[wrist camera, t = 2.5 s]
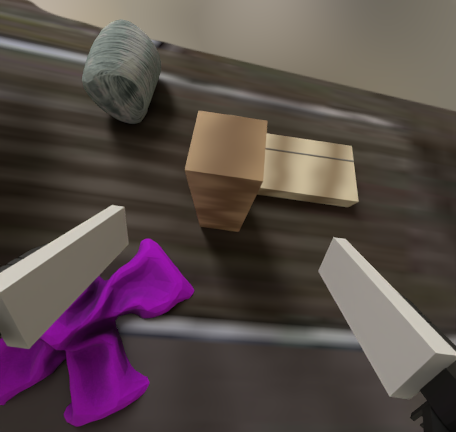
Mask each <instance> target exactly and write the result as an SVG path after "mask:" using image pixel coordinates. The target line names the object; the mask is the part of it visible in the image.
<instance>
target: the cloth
mask: <svg viewBox="0 0 456 432" xmlns="http://www.w3.org/2000/svg"><path fill="white" fill-rule="evenodd" d="M193 292H194V289H193V287H192V286H191V284H190V283H189V282H188V281H187V280H186V279H185V278H184V276H183V275H182V274H181V273H180V271H179V270H178V268H177V267H176V266H175V265H174V264H173V262H172V261H171V260H170V259H169V257H168V256H167V255H166V253H165V252H164V251H163V249H162V248H161V247H160V246H159V245H158V244H157V243H156V242H154V241H153V240H151V239H144V240H143V241H141V244H140V247H139V251H138V253H137V254H136V255H135V257H134V258H133V259H132V260H131V261H130V262H128V263H127V264H125V265H124V266H122V267H121V268H119V269H118V270H117V271H116V272H115V273H114V274H113V275H112V276H111V278H110V279H109V280H106V281H104V280H103V279H102V278H101V277H100V276H98V277H97V278H96V279H95V280H94V281H93V282H92V283H91V284H90V285H89V286H88V287H87V289H86V290H85V291H84V292H83V293H82V294H81V295H80V296H79V297H78V298H77V299H76V300H75V301H74V302H73V303H72V304H71V305H70V306H69V307H68V309H67V310H66V311H65V312H64V313H63V314H62V315H61V316H60V317H59V318H58V319H57V320H56V321H55V322H54V323H53V324H52V325H51V326H50V327H49V329H48V330H47V331H46V332H45V333H44V334H43V335H42V336H41V337H40V338H39V339H38V340H37V341H36V342H35V343H34V344H33V345H32V346H31V347H30V349H26V348H18V347H10V346H7V345H6V343H5V342H4V340H3V338H1V339H0V405H4V404H5V403H6V402H7V401H8V400H9V399H11V398H12V397H14V396H15V395H16V394H18V393H19V392H21V391H23V390H25V389H27V388H29V387H31V386H33V385H34V384H36V383H38V382H39V381H41V380H43V379H44V378H46V377H47V376H49V375H50V374H52V373H53V372H54V371H55V370H56V368H57V367H58V366H59V365H60V364H61V363H62V362H63V361H64V360H65V359H67V366H68V371H69V376H70V392H71V399H72V402H71V404H70V405H69V406H68V407H66V410H65V412H64V417H65V419H66V421H67V423H70V424H71V425H74V426H82V425H84V424H87V423H89V422H92V421H96V420H100V419H103V418H105V417H107V416H109V415H111V414H113V413H115V412H117V411H119V410H121V409H123V408H125V407H126V406H128V405H129V404H131V403H132V402H134V401H135V400H137V399H138V398H139V397H140V396H141V395H142V394H144V392H145V391H146V389H147V387H148V385H149V381H148V376H147V377H145V376H143V375H142V374H140V373H139V372H137V371H136V370H135V369H134V368H133V367H132V366H131V364H130V362H129V361H128V359H127V357H126V354H125V351H124V348H123V344H122V340H121V338H120V335H119V332H118V329H117V327H116V319H117V318H118V317H119V316H122V315H125V314H129V313H133V314H136V315H138V316H139V317H141V318H154V317H157V316H160V315H162V314H164V313H166V312H167V311H169V310H170V309H171V308H172V307H174V306H175V305H176V304H177V303H178V302H181V301H183V300H185V299H189V298H190V297H191V296H192V294H193Z"/></svg>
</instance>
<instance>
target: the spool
mask: <svg viewBox="0 0 456 432" xmlns="http://www.w3.org/2000/svg"><path fill="white" fill-rule="evenodd" d="M160 72H161V61H160V56H159V53H158V51H157V49H156V47H155V46H154V44H153V43H152V41H151V40H150V38H149V37H148V36H147V35H146V34H145V33H144V32H143V31H142V30H141V29H140V28H139V27H137V26H136V25H134V24H132V23H131V22H129V21H125V20H116V21H114V22H111V23H110V24H109V25H107V26H106V27H104V28H103V30H102V31H101V32H100V34H99V36H98V37H97V38H96V39H95V41H94V43H93V45H92V47H91V50H90V53H89V55H88V57H87V61H86V64H85V69H84V72H83V76H82V82H83V86H84V88H85V90H86V92H87V93H88V95H89V96H90V98H91V99H92V100H93V101H94V102H95V103H96V104H97V105H98V106H99V107H100V108H101V109H103V110H104V111H105V112H106V113H108V114H109V115H111V116H112V117H114V118H116V119H117V120H119V121H122V122H125V123H129V124H136V123H139V122H141V121H142V119H143V118H144V117H145V115H146V113H147V111H148V106H149V104H150V102H151V98H152V96H153V93H154V90H155V87H156V85H157V82H158V79H159V75H160Z"/></svg>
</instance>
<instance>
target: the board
mask: <svg viewBox="0 0 456 432" xmlns="http://www.w3.org/2000/svg"><path fill="white" fill-rule="evenodd" d="M257 195H264V196H271V197H278V198H285V199H293V200H300V201H307V202H314V203H321V204H328V205H335V206H342V207H350V206H352V205H353V204H355V203H357V202H358V193H357V185H356V177H355V169H354V161H353V153H352V146H347V145H341V144H334V143H327V142H320V141H314V140H307V139H300V138H294V137H287V136H280V135H273V134H267V133H266V148H265V163H264V177H263V183H262V185H261V187H260V189H259V191H258V193H257Z"/></svg>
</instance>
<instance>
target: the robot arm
mask: <svg viewBox="0 0 456 432" xmlns="http://www.w3.org/2000/svg"><path fill="white" fill-rule="evenodd" d="M128 244H129V243H128V234H127V225H126V216H125V207H121V206H114V205H112V206H110V207H108V208H107V209H105V210H103V211H102V212H100V213H98V214H97V215H95V216H93V217H92V218H90V219H88V220H87V221H85V222H83V223H82V224H80V225H79V226H77V227H75V228H74V229H72V230H70V231H69V232H67V233H65V234H64V235H62V236H60V237H59V238H57V239H55V240H54V241H52V242H50V243H49V244H48V243H47V244H44V245H42V246H39V247H36V248H34V249H31V250H29V251H28V252H26V253H24V254H23V255H21V256H19V257H18V259H14V260H12V261H11V262H9V263H7V265H6V266H5V265H4V266H2V267H0V336H1V337H2V338H3V340H4V342H5V343H6V345H7V346H10V347H18V348H26V349H30V347H31V346H32V345H33V344H34V343H35V342H36V341H37V340H38V339H39V338H40V337H41V336H42V335H43V334H44V333H45V332H46V331H47V330H48V329H49V327H50V326H51V325H52V324H53V323H54V322H55V321H56V320H57V319H58V318H59V317H60V316H61V315H62V314H63V313H64V312H65V311H66V310H67V309H68V307H69V306H70V305H71V304H72V303H73V302H74V301H75V300H76V299H77V298H78V297H79V296H80V295H81V294H82V293H83V292H84V291H85V290H86V289H87V287H88V286H89V285H90V284H91V283H92V282H93V281H94V280H95V279H96V278H97V277H98V276H99V275H100V274H101V273H102V272H103V271H104V270H105V268H106V267H107V266H108V265H109V264H110V263H111V262H112V261H113V260H114V259H115V258H116V257H117V256H118V255H119V254H120V253H121V252H122V251H123V250H124V248H125V247H126V246H127V245H128ZM319 273H320V275H321V277H322V278H323V280H324V282H325V284H326V286H327V287H328V289H329V291H330V293H331V294H332V296H333V298H334V300H335V301H336V303H337V305H338V307H339V308H340V310H341V312H342V314H343V315H344V317H345V319H346V321H347V322H348V324H349V326H350V328H351V330H352V331H353V333H354V335H355V337H356V338H357V340H358V342H359V344H360V345H361V347H362V349H363V351H364V352H365V354H366V356H367V358H368V359H369V361H370V363H371V365H372V366H373V368H374V370H375V372H376V373H377V375H378V377H379V379H380V381H381V382H382V384H383V386H384V388H385V389H386V391H387V393H388V395H389V396H390V397H396V398H404V399H411V398H412V397H413V396H414V395H416V394H417V393H418V392H419V391H421V393H422V394H423V396H424V397H425V398H426V400H427V401H426V402H425V403H424V404H422V405H421V406H420V407H419V408H417V409H416V410H415V411H414V412H412V414H411V417H410V418H411V419H412V420H413V421H415V420H416V419H418V418H419V417H420V416H423V423H422V424H420V426H421V427H422V428H424V432H456V346H455V345H454V344H453V343H452V342H451V341H450V340H449V339H448V338H447V337H446V336H445V335H444V334H443V333H442V332H441V331H440V330H439V329H438V328H437V327H436V326H435V325H434V324H432V323H431V321H430V320H429V319H428V318H427V317H426V316H425V315H423V314H422V312H421V311H420V310H419V309H418V308H417V307H416V306H415V305H414V304H413V303H412V302H411V301H410V300H408V299H407V298H405V297H404V296H403V295H401V294H400V293H398V292H397V291H396V290H395V289H394V288H393V287H392V286H391V285H390V284H389V283H388V282H387V281H386V280H385V279H384V278H383V277H382V276H381V275H380V274H379V273H378V272H377V271H376V270H375V269H374V268H373V267H372V266H371V265H370V264H369V263H368V262H367V261H366V260H365V259H364V258H363V257H362V255H361V254H360V253H359V252H358V251H357V250H356V249H355V248H354V247H353V246H352V245H351V244H350V243H349V242H348V241H347V240H346V239H341V238H334V237H333V240H332V242H331V244H330V246H329V248H328V251H327V253H326V255H325V257H324V260H323V262H322V264H321V266H320V268H319Z"/></svg>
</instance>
